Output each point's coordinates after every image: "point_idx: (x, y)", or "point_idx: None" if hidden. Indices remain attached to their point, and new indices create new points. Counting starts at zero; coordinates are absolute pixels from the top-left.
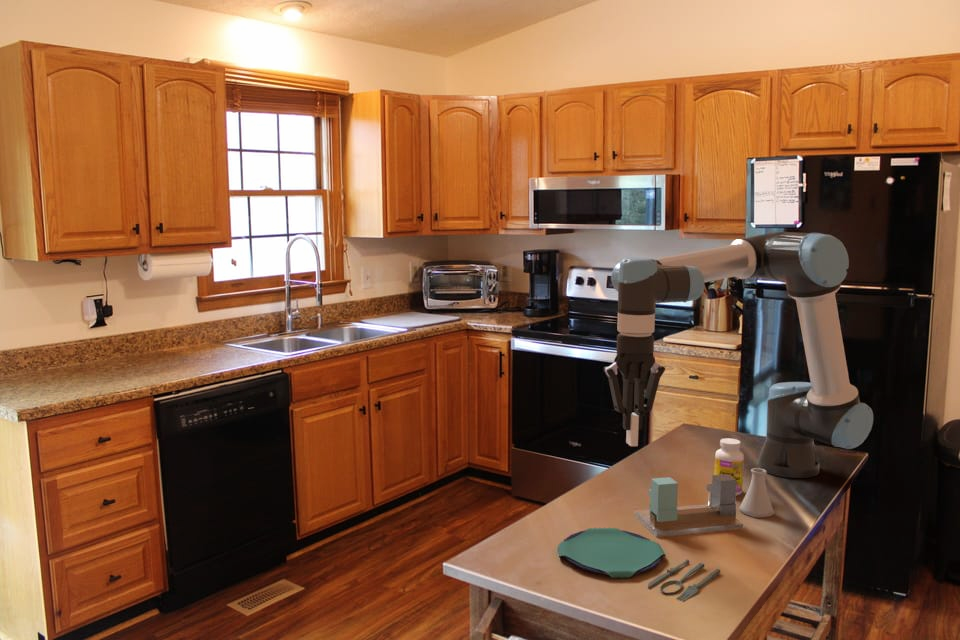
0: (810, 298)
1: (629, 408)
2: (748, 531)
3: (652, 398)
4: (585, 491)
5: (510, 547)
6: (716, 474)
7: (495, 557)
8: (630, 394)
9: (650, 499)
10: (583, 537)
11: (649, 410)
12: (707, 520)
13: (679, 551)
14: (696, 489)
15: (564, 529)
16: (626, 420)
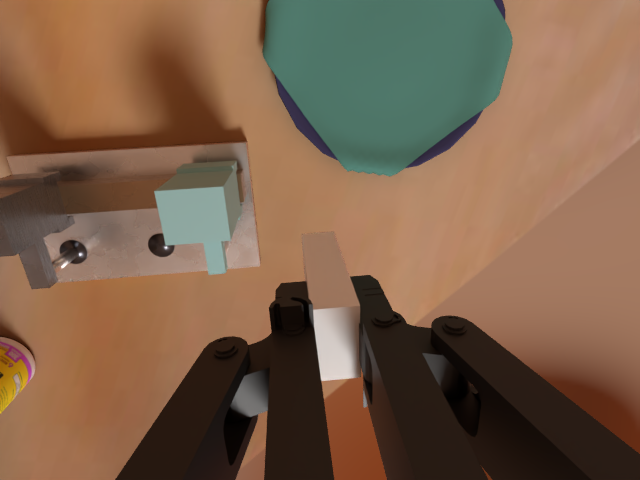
0: None
1: (392, 341)
2: (4, 139)
3: (179, 419)
4: (322, 384)
5: (570, 139)
6: (5, 387)
7: (618, 95)
8: (426, 437)
9: (238, 218)
10: (422, 139)
11: (225, 341)
12: (99, 179)
13: (216, 51)
14: (77, 377)
15: (431, 211)
16: (381, 303)
